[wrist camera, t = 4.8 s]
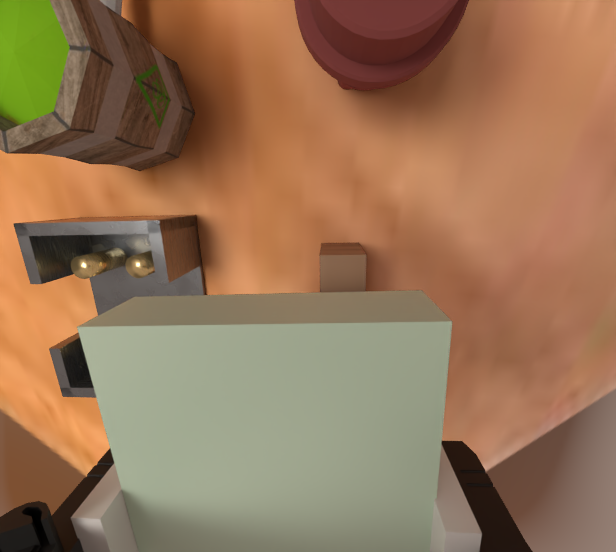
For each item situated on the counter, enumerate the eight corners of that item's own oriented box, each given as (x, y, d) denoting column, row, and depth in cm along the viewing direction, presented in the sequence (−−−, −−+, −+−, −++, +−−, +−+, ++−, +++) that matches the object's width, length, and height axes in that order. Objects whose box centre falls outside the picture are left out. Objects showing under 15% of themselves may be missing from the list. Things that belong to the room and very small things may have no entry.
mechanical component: (453, 24, 23) (378, 140, 26) (349, -56, 23) (281, 72, 25) (582, -153, 12) (420, 93, 14) (372, -336, 11) (240, -38, 13)
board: (134, 296, 8) (76, 326, 6) (422, 289, 8) (452, 321, 6) (195, 585, 12) (169, 663, 10) (404, 597, 11) (420, 683, 9)
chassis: (80, 217, 30) (13, 223, 23) (195, 214, 29) (158, 220, 22) (111, 359, 34) (62, 396, 28) (213, 360, 33) (187, 399, 27)
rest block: (321, 243, 29) (319, 255, 23) (358, 242, 28) (366, 254, 23) (322, 319, 31) (321, 348, 25) (357, 319, 30) (364, 348, 25)
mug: (195, 176, 28) (100, 163, 16) (84, 165, 28) (-84, 144, 17) (194, -29, 24) (66, -244, 12) (65, -39, 24) (-179, -256, 12)
